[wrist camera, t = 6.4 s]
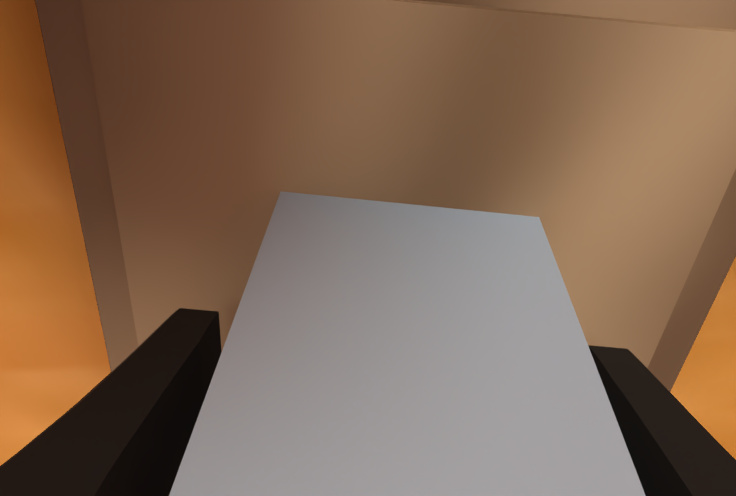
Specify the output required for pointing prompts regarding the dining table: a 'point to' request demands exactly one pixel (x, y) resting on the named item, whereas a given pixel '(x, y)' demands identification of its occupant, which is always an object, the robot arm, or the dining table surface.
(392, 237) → the block
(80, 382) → the dining table surface
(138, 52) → the plinth
